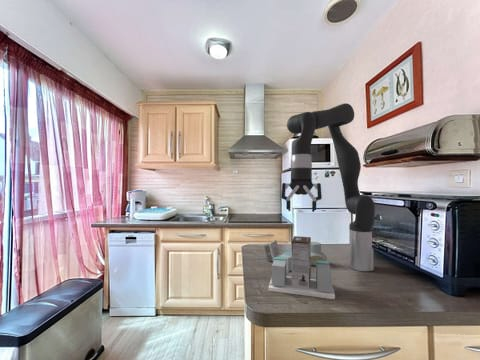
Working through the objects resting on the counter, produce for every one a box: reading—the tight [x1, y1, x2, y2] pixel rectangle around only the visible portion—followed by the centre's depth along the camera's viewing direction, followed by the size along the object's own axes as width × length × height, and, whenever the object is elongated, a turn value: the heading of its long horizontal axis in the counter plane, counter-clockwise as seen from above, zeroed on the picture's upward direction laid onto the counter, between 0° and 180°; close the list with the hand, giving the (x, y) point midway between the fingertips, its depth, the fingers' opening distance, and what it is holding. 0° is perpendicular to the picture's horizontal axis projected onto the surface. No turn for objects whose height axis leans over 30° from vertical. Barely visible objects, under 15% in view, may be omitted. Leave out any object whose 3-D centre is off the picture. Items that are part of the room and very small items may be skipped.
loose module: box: [278, 251, 292, 273], centre depth 106 cm, size 5×7×6 cm
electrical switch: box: [263, 239, 281, 263], centre depth 118 cm, size 9×5×9 cm, turn 152°
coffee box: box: [291, 235, 312, 289], centre depth 87 cm, size 9×6×16 cm
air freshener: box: [311, 241, 328, 267], centre depth 113 cm, size 11×8×10 cm
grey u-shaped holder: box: [268, 257, 336, 300], centre depth 86 cm, size 22×12×9 cm, turn 75°
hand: (301, 211), depth 87 cm, fingers open, 8 cm apart
